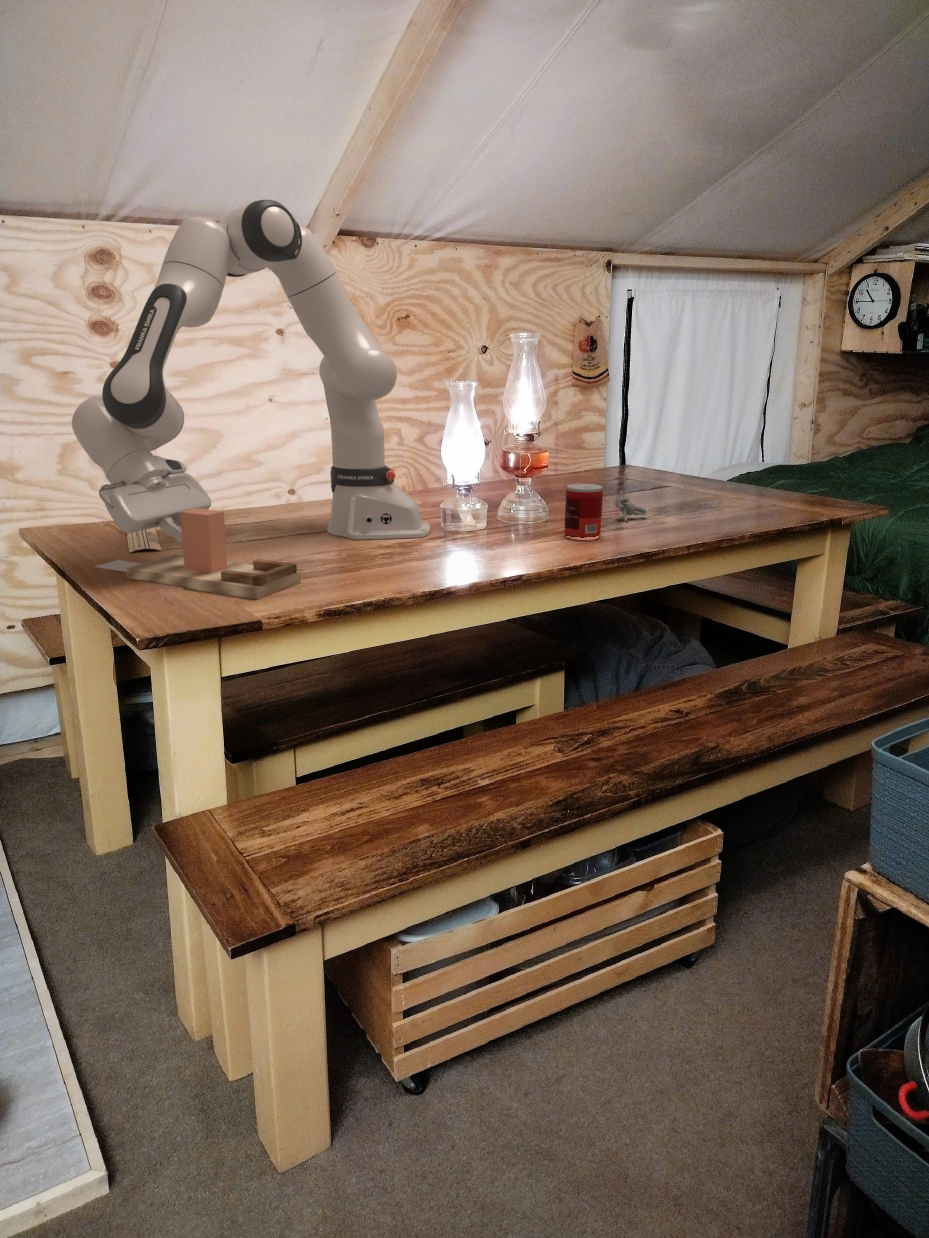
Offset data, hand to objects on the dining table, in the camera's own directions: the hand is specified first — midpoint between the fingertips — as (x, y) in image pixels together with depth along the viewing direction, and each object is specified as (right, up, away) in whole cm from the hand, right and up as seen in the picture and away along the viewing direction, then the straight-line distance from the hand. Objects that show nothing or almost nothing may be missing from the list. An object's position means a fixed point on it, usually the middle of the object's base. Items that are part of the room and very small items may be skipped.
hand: (187, 539), depth 160 cm
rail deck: (+5, -7, 0) cm, 8 cm away
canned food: (+73, +4, +38) cm, 83 cm away
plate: (-14, -4, +8) cm, 17 cm away
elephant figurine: (+87, +10, +59) cm, 105 cm away
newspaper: (-18, +1, +30) cm, 35 cm away
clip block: (+3, -5, 0) cm, 6 cm away
